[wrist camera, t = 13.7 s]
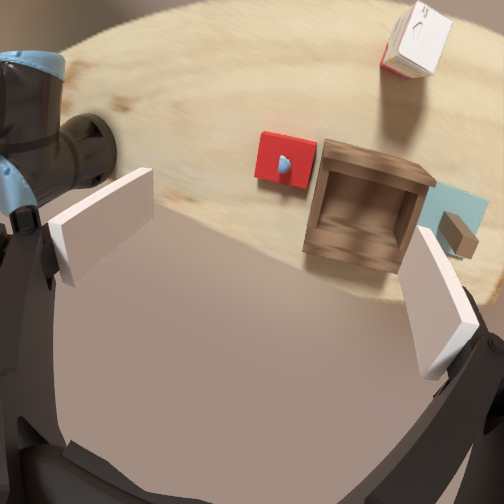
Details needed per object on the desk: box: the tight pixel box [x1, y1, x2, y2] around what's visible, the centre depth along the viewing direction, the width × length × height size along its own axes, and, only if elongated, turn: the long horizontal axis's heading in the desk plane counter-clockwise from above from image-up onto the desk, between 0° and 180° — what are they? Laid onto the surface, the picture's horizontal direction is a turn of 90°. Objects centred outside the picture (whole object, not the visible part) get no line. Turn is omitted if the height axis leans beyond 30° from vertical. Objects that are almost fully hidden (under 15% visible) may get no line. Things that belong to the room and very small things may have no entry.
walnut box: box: [302, 139, 437, 274], centre depth 40 cm, size 15×14×9 cm
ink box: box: [380, 0, 453, 79], centre depth 26 cm, size 9×5×12 cm, turn 161°
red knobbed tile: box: [254, 131, 317, 189], centre depth 42 cm, size 8×7×6 cm
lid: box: [411, 181, 488, 259], centre depth 38 cm, size 13×11×10 cm
